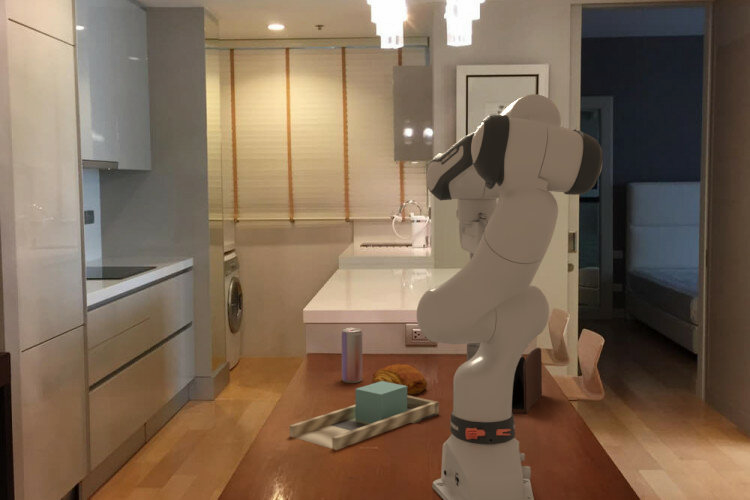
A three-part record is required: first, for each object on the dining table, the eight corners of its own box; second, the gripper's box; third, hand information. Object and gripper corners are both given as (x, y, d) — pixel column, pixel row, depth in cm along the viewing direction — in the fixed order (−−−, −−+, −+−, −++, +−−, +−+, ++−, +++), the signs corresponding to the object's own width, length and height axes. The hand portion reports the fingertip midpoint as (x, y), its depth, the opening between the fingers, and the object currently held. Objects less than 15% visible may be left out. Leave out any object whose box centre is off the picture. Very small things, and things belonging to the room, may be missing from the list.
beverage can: (338, 381, 237) (337, 330, 236) (348, 377, 243) (348, 327, 241) (356, 384, 235) (355, 332, 233) (366, 379, 240) (365, 328, 239)
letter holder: (542, 395, 223) (543, 344, 222) (526, 414, 205) (527, 359, 204) (505, 391, 227) (506, 341, 226) (487, 410, 209) (488, 356, 208)
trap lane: (336, 452, 177) (336, 438, 176) (289, 438, 186) (289, 425, 185) (438, 414, 205) (438, 401, 205) (393, 403, 214) (393, 392, 214)
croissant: (364, 396, 230) (360, 369, 229) (407, 380, 239) (403, 354, 238) (396, 406, 219) (392, 377, 218) (439, 389, 228) (436, 361, 227)
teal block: (381, 425, 194) (381, 394, 193) (355, 419, 199) (355, 388, 198) (407, 416, 201) (407, 386, 200) (381, 410, 206) (381, 381, 206)
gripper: (501, 214, 177) (500, 278, 178) (481, 210, 197) (480, 267, 198) (472, 214, 176) (471, 278, 177) (455, 210, 196) (454, 268, 198)
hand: (476, 272), depth 188 cm, fingers closed
